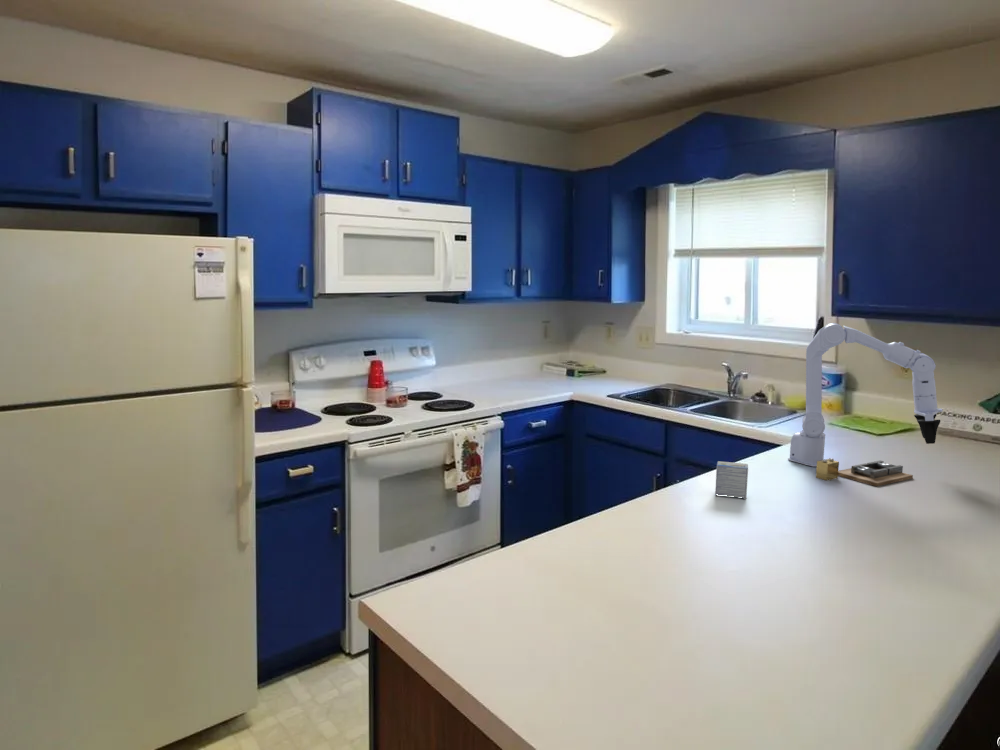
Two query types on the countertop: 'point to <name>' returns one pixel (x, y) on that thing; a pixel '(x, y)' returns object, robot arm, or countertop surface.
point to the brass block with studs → (827, 469)
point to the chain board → (876, 481)
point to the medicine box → (731, 479)
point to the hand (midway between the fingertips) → (928, 440)
